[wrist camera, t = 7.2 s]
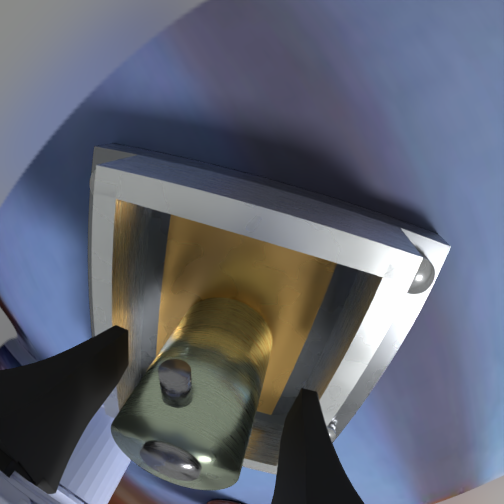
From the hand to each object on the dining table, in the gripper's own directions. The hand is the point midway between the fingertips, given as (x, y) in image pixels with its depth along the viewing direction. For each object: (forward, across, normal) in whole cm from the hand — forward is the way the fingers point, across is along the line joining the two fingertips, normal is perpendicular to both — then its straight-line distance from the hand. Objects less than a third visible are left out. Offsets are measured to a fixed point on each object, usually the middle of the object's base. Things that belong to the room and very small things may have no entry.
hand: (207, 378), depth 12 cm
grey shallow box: (+5, 0, 0) cm, 5 cm away
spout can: (+3, 0, 0) cm, 3 cm away
